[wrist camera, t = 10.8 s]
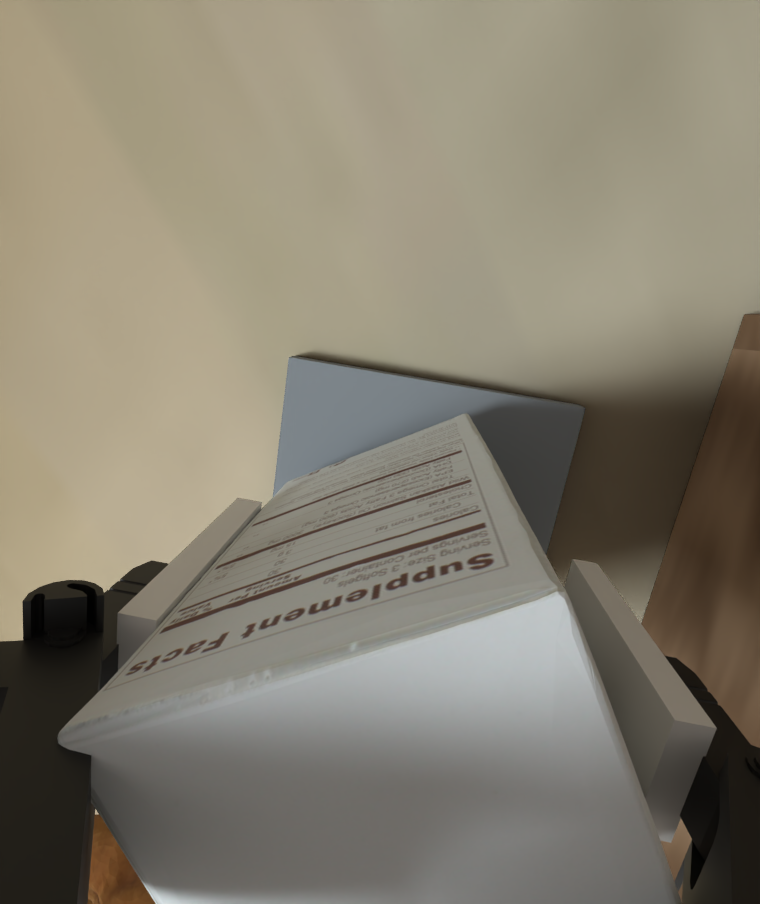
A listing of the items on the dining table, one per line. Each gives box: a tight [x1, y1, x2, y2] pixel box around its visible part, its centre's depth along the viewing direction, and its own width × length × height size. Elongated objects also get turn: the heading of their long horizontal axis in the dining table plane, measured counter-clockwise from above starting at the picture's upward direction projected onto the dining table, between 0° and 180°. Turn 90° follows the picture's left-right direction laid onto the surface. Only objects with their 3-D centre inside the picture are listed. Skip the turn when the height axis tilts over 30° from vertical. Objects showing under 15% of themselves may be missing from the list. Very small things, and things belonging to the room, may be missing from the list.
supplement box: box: [57, 413, 682, 904], centre depth 13 cm, size 7×7×13 cm
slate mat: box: [273, 356, 585, 555], centre depth 21 cm, size 11×11×1 cm
